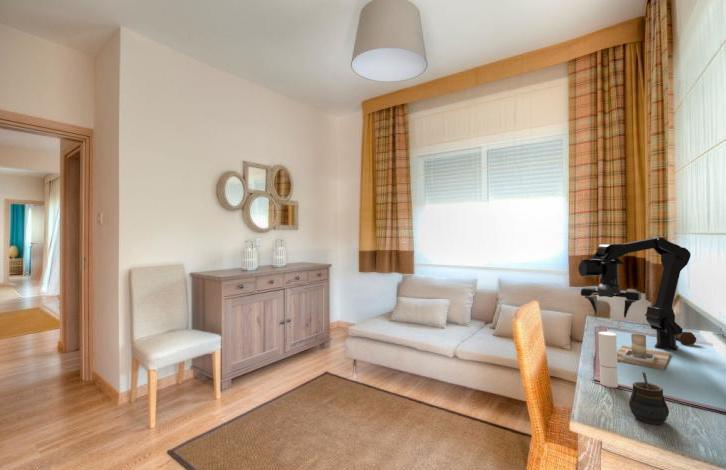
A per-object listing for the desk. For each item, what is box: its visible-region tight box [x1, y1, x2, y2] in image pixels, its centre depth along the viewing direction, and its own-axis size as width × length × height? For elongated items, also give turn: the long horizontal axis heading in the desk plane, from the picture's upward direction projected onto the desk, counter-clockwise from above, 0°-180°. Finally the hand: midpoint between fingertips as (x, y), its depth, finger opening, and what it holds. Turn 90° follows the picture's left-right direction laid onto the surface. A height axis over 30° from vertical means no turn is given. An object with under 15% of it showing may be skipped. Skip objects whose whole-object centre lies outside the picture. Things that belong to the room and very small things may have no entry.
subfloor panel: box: [617, 344, 672, 371], centre depth 124 cm, size 20×14×1 cm
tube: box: [598, 331, 619, 388], centre depth 102 cm, size 4×4×15 cm
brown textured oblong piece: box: [676, 331, 697, 346], centre depth 144 cm, size 6×5×15 cm
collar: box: [622, 350, 656, 364], centre depth 121 cm, size 8×8×1 cm
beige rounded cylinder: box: [631, 333, 647, 359], centre depth 121 cm, size 4×4×8 cm
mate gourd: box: [628, 371, 670, 425], centre depth 83 cm, size 7×8×10 cm
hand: (610, 315), depth 136 cm, fingers open, 9 cm apart
